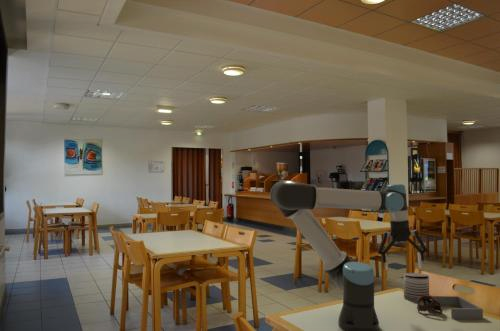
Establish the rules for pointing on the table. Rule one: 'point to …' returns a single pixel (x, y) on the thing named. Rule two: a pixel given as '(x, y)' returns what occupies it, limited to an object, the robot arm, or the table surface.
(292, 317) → the table surface
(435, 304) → the brown ring with knob
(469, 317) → the box
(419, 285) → the can
